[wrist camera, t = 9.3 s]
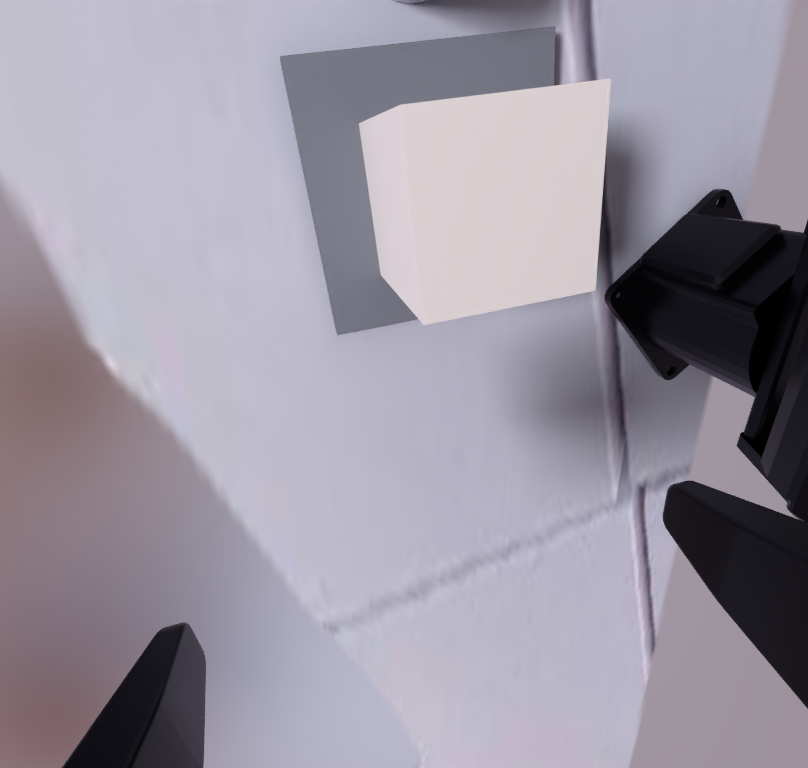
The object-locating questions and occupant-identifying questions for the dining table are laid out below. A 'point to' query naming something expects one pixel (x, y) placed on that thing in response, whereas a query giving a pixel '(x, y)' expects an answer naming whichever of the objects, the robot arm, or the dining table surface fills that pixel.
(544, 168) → the cream block
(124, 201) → the dining table surface
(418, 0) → the white ball
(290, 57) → the slate mat
